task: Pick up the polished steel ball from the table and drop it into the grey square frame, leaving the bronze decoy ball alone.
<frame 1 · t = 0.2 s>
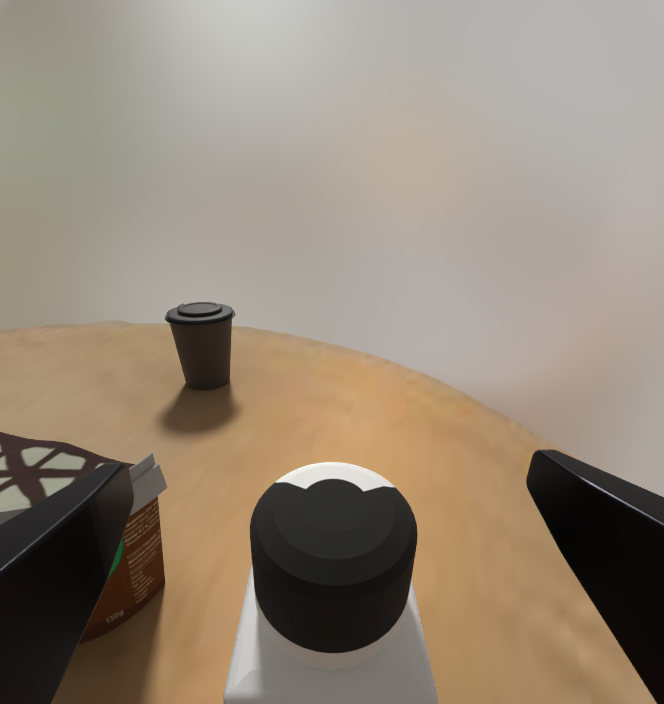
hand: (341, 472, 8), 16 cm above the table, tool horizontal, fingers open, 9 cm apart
coffee cup: (208, 381, 48), on the table
food container: (60, 612, 21), on the table
medicine bottle: (327, 696, 18), on the table
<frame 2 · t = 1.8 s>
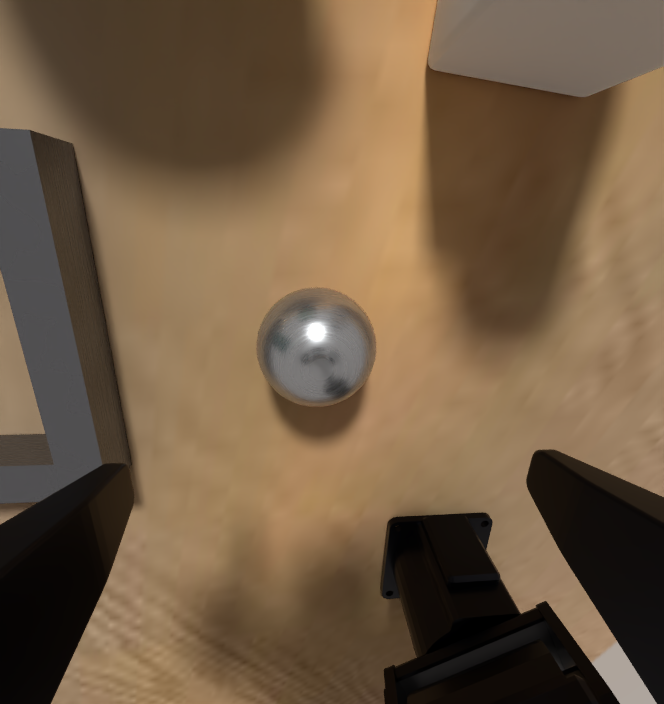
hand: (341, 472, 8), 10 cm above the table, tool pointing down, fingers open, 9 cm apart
steel ball: (316, 347, 16), point 2 cm above the table
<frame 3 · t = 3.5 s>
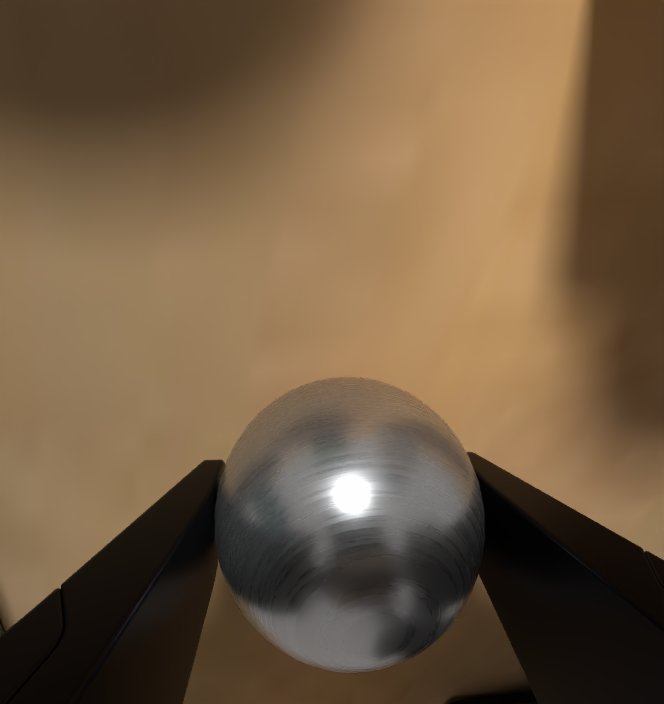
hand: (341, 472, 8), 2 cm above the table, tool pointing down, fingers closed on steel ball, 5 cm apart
steel ball: (347, 504, 7), point 2 cm above the table, touching gripper
when the fingers open (4 cm above the table, at t = 8.2 s): steel ball drops 2 cm, point 2 cm above the table.
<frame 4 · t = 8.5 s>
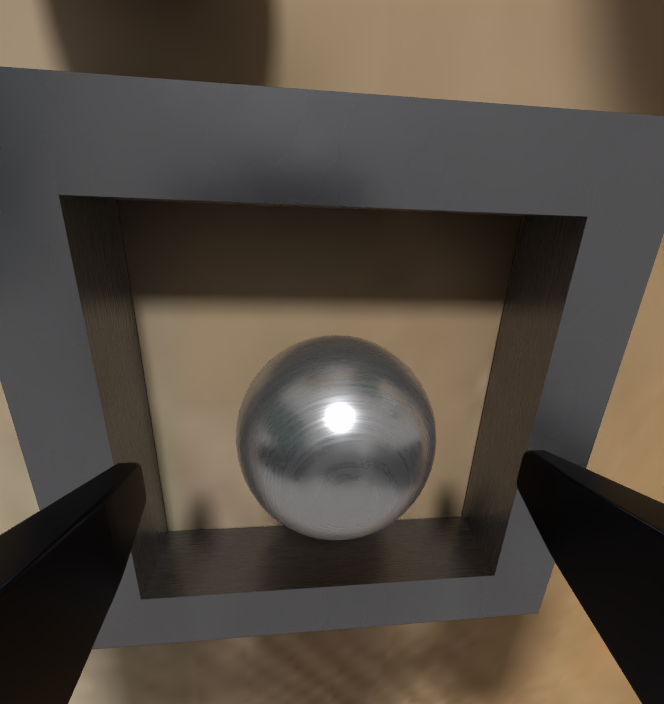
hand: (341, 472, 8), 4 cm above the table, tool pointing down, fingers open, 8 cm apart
steel ball: (335, 431, 10), point 2 cm above the table
grey square frame: (325, 391, 12), on the table
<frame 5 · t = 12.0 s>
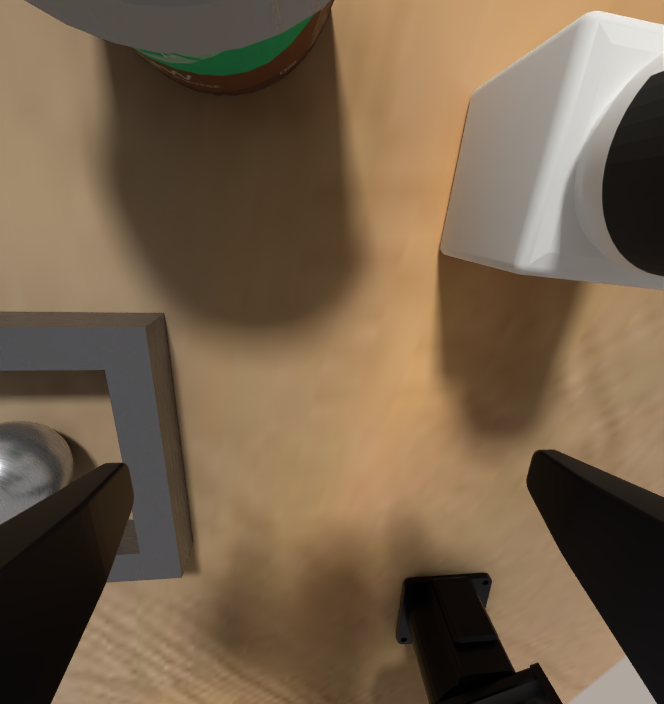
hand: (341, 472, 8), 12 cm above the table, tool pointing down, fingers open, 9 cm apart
food container: (195, 35, 15), on the table
medicine bottle: (518, 187, 18), on the table
steel ball: (10, 473, 18), point 2 cm above the table, tilted 5°
grey square frame: (38, 445, 20), on the table
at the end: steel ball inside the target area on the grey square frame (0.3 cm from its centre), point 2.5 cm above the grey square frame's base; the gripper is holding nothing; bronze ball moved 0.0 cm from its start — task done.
